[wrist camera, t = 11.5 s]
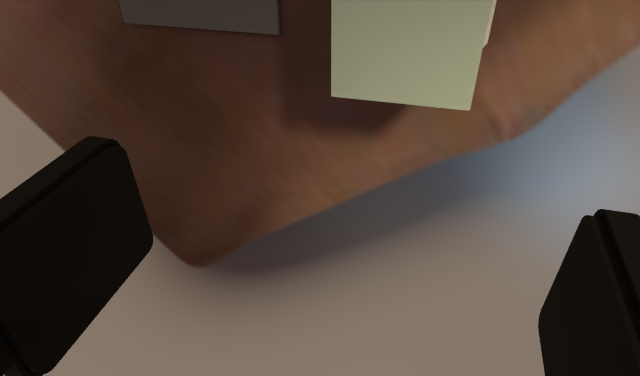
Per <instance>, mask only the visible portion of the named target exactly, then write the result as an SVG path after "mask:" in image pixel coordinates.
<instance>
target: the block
mask: <svg viewBox="0 0 640 376" xmlns="http://www.w3.org/2000/svg"><path fill="white" fill-rule="evenodd" d="M492 1H493V0H331V97H341V98H351V99H361V100H370V101H380V102H390V103H400V104H409V105H419V106H429V107H439V108H448V109H458V110H468V111H470V107H471V103H472V98H473V93H474V88H475V83H476V78H477V74H478V69H479V64H480V59H481V54H482V49H483V44H484V40H485V35H486V30H487V25H488V20H489V15H490V10H491V6H492Z"/></svg>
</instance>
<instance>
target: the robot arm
mask: <svg viewBox="0 0 640 376" xmlns="http://www.w3.org/2000/svg"><path fill="white" fill-rule="evenodd" d="M152 244H153V234H152V231H151V228H150V225H149V222H148V219H147V216H146V212H145V209H144V206H143V203H142V200H141V197H140V194H139V190H138V187H137V184H136V181H135V178H134V175H133V172H132V168H131V165H130V162H129V159H128V156H127V153H126V151H125V150H124V149H123V148H122V147H121V146H120V144H119V143H118V142H117V141H116V140H114V139H108V138H101V137H94V136H89V137H86V138H84V139H83V140H81V141H80V142H78V143H77V144H76V145H74V146H73V147H72V148H70V149H69V150H67V151H66V152H65V153H63V154H62V155H61V156H59V157H58V158H56V159H55V160H54V161H52V162H51V163H50V164H48V165H47V166H45V167H44V168H43V169H41V170H40V171H38V172H37V173H36V174H34V175H33V176H32V177H30V178H29V179H27V180H26V181H25V182H23V183H22V184H20V185H19V186H18V187H16V188H15V189H14V190H12V191H11V192H9V193H8V194H7V195H5V196H4V197H2V198H1V199H0V376H3V375H4V374H5V376H42V375H43V374H46V373H48V372H50V371H51V370H52V369H53V368H54V367H55V366H56V365H57V364H58V362H59V361H60V360H61V359H62V357H63V356H64V355H65V354H66V353H67V351H68V350H69V349H70V348H71V347H72V345H73V344H74V343H75V342H76V340H77V339H78V338H79V337H80V335H81V334H82V333H83V332H84V330H85V329H86V328H87V327H88V326H89V324H90V323H91V322H92V321H93V320H94V318H95V317H96V316H97V315H98V314H99V312H100V311H101V310H102V308H103V307H104V306H105V305H106V304H107V302H108V301H109V300H110V299H111V297H112V296H113V295H114V294H115V293H116V292H117V290H118V289H119V288H120V287H121V285H122V284H123V283H124V282H125V280H126V279H127V278H128V277H129V276H130V274H131V273H132V272H133V271H134V270H135V268H136V267H137V266H138V265H139V263H140V262H141V261H142V260H143V259H144V257H145V256H146V255H147V253H148V252H149V251H150V249H151V247H152ZM538 324H539V325H538V328H539V337H540V344H541V350H542V357H543V364H544V371H545V376H640V216H639V215H637V214H633V213H626V212H618V211H612V210H605V209H600V210H598V211H597V212H596V213H595V214H594V216H589V215H586V216H584V217H583V218H582V220H581V222H580V224H579V226H578V228H577V231H576V233H575V235H574V237H573V240H572V242H571V244H570V246H569V249H568V251H567V253H566V255H565V258H564V260H563V262H562V265H561V267H560V269H559V271H558V273H557V275H556V278H555V280H554V282H553V284H552V287H551V289H550V291H549V294H548V296H547V298H546V300H545V302H544V305H543V307H542V309H541V312H540V316H539V323H538Z"/></svg>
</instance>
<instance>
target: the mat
mask: <svg viewBox="0 0 640 376" xmlns="http://www.w3.org/2000/svg"><path fill="white" fill-rule="evenodd" d="M119 4H120V8H121V11H122V15H123V19H124V23H130V24H143V25H156V26H169V27H182V28H195V29H208V30H221V31H234V32H247V33H260V34H273V35H279V34H280V17H279V1H278V0H119Z"/></svg>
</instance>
